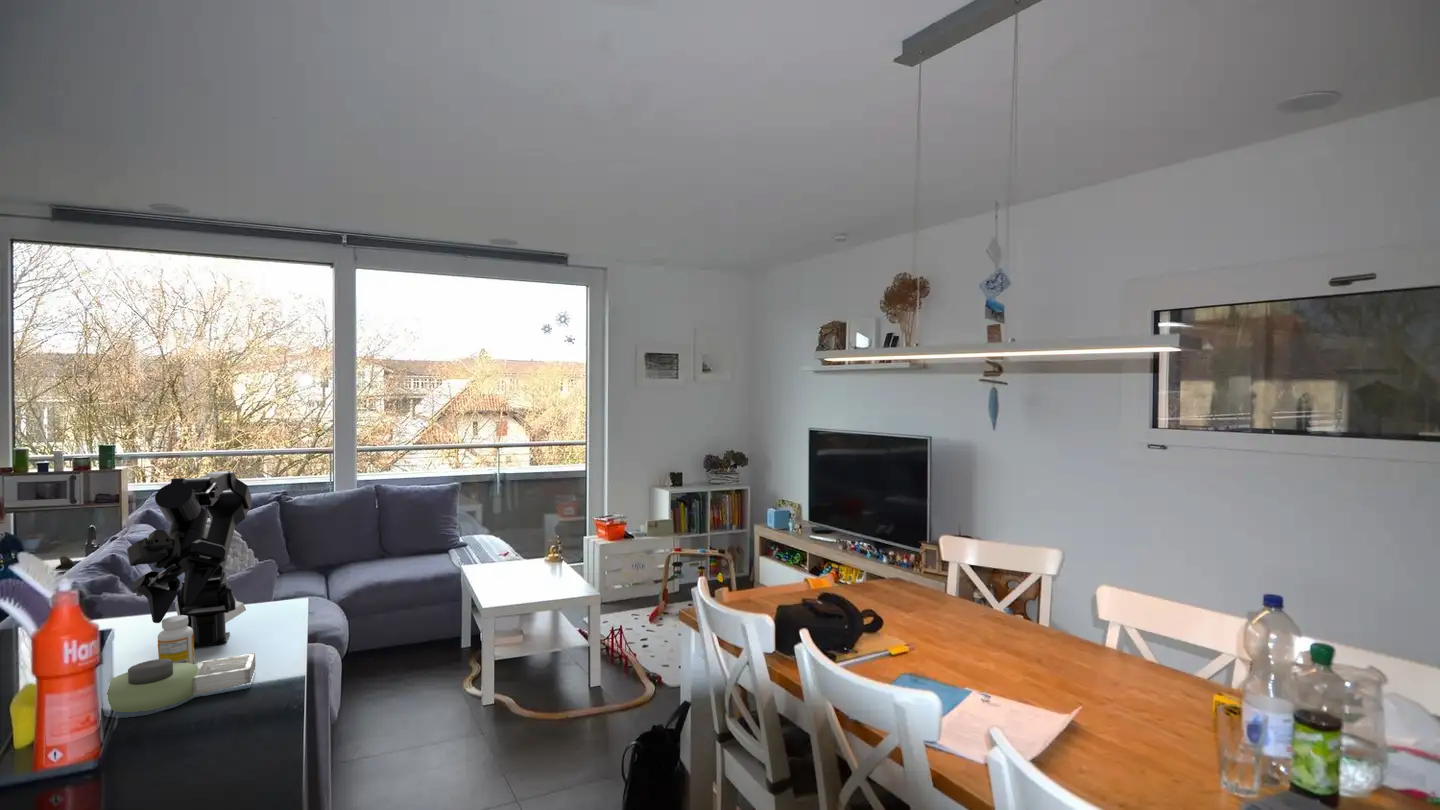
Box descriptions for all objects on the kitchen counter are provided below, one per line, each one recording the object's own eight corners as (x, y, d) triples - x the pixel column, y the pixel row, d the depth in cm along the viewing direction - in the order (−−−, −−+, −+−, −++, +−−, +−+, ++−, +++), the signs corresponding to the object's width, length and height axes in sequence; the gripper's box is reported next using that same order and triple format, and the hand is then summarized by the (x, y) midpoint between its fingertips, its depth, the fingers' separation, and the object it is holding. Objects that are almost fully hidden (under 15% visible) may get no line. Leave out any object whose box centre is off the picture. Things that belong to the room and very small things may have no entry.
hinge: (209, 632, 161) (190, 590, 160) (187, 641, 160) (167, 599, 159) (247, 609, 177) (229, 570, 176) (227, 617, 177) (209, 578, 176)
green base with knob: (114, 694, 129) (112, 660, 129) (205, 679, 135) (203, 646, 135) (91, 725, 118) (89, 687, 117) (191, 707, 123) (190, 671, 123)
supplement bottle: (174, 664, 143) (171, 613, 143) (201, 664, 143) (199, 613, 142) (151, 675, 138) (149, 623, 137) (180, 675, 137) (178, 622, 137)
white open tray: (199, 680, 134) (198, 661, 134) (255, 671, 138) (254, 652, 138) (190, 698, 127) (189, 678, 127) (250, 688, 131) (249, 668, 130)
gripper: (110, 545, 140) (90, 624, 131) (170, 502, 134) (154, 582, 126) (174, 559, 149) (159, 635, 140) (233, 519, 143) (221, 596, 134)
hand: (171, 612), depth 135 cm, fingers open, 9 cm apart
